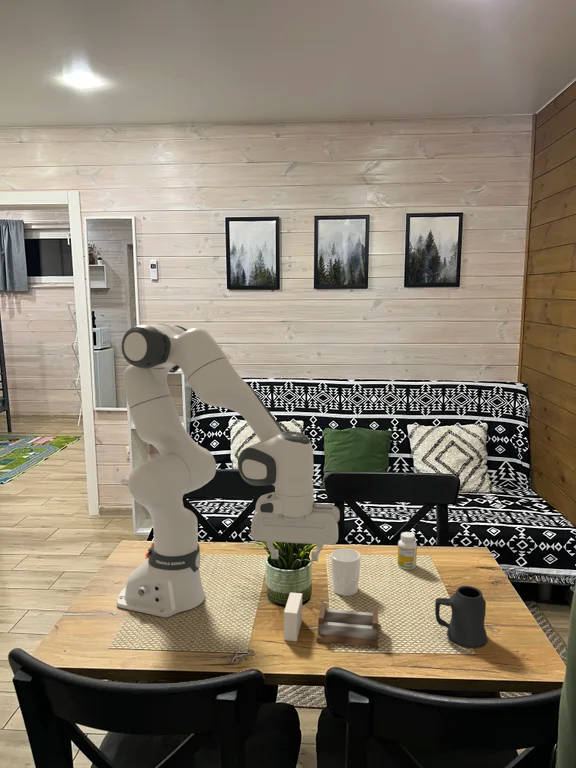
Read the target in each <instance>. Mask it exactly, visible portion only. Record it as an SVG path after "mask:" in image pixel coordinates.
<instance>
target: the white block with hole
mask: <svg viewBox="0 0 576 768" xmlns="http://www.w3.org/2000/svg"><path fill="white" fill-rule="evenodd" d="M302 621H303V592H302V593H301V592H292V591H291V592H289V595H288V598H287V601H286V603H285V608H284V610H283V640H284V641H291V642H297V641H298V638H299V634H300V630H301V625H302Z"/></svg>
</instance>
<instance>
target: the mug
mask: <svg viewBox="0 0 576 768" xmlns="http://www.w3.org/2000/svg"><path fill="white" fill-rule="evenodd" d="M434 603H435V604H434V605H435V606H434V609H435V612H434V613H435V621H436V622H437V624H438V625H440V627H445V628H446V629H447V631H446V636H447V638H448V639H449V641H451V642H452V643H453V644H455V645H456V646H459V647H462V648H467V649H478V648H483V647H484V646H486V644H487V643H488V636H487V631H486V628H485V619H486V618H485V617H486V609H487V608H486V607H487V600H486V599H485V598H484V596H483V592H482V591H481V590H480V588H477V587H475V586H471V585H461V586H458V587H457V588H456V590H455V593H453V594H452V595H451V596H450V597H439V598H437V597H436V598H435V602H434ZM441 606H446V607H450V609H451V617H450V622H449V623H448V622H447V621H445V620H444V619H442V618H441V616H440V610H441Z"/></svg>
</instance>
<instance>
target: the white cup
mask: <svg viewBox="0 0 576 768" xmlns="http://www.w3.org/2000/svg"><path fill="white" fill-rule="evenodd" d="M361 557H362V555H361V553H360V552H359V551H357V550H356V549H352V548H337V549H335V550H333V551H332V552H331V553H330V559H331V560H330V561H331V579H332V580H331V581H332V591H333V592H334V593H335V594H337V595H339V596H346V597H347V596H352V595H355V594H357V592H358V589H359V582H360V571H361Z"/></svg>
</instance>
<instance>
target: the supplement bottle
mask: <svg viewBox="0 0 576 768" xmlns="http://www.w3.org/2000/svg"><path fill="white" fill-rule="evenodd" d="M415 535H416V534H414V533H413V532H410V531H405V532H404V531H403V532H401V533H400V539H399V540H398V542H397V566H398V567H399V568H400V569H403V570H407V571H408V570H413V569H415V568H416V566H417V550H418V546H417V545H418V544H417V541H415V540H416V536H415Z"/></svg>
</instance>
